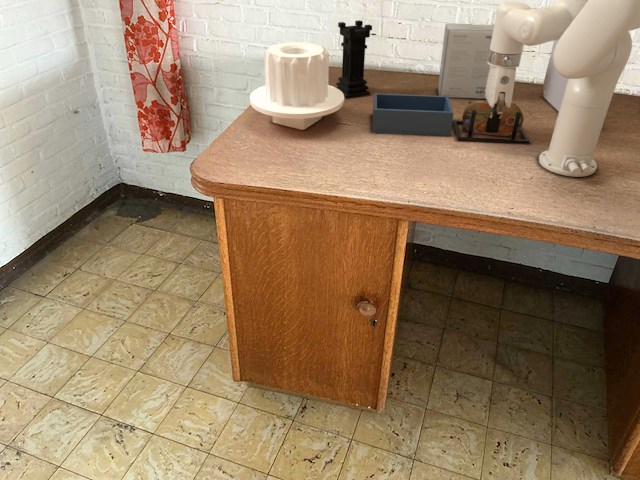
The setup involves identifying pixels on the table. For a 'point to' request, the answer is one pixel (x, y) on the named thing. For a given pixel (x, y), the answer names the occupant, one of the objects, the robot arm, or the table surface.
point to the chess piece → (353, 59)
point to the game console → (554, 83)
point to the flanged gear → (296, 85)
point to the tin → (483, 114)
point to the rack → (470, 138)
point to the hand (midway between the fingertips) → (490, 128)
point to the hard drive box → (465, 60)
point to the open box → (412, 114)
